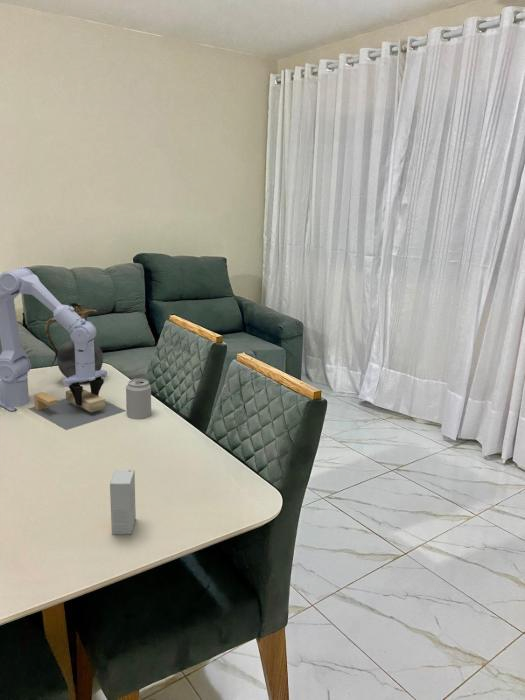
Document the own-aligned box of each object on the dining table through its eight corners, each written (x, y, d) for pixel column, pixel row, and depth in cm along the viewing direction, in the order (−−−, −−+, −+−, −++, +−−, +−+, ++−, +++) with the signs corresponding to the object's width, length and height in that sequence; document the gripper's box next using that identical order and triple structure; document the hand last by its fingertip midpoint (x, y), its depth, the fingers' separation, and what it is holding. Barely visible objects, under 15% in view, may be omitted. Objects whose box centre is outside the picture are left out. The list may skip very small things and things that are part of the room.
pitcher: (104, 387, 194) (101, 304, 185) (47, 389, 188) (41, 305, 180) (103, 377, 204) (101, 298, 195) (49, 379, 198) (44, 299, 190)
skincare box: (115, 518, 117) (114, 468, 114) (136, 518, 117) (135, 468, 114) (110, 535, 111) (109, 483, 108) (131, 535, 112) (131, 483, 108)
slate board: (28, 411, 169) (26, 393, 168) (87, 395, 185) (86, 378, 183) (66, 433, 156) (65, 413, 154) (126, 413, 172) (126, 396, 170)
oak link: (66, 399, 174) (65, 391, 173) (80, 396, 177) (79, 387, 177) (91, 412, 165) (90, 403, 164) (105, 408, 169) (104, 399, 168)
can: (154, 413, 173) (153, 378, 169) (147, 423, 166) (146, 386, 162) (131, 412, 173) (130, 376, 170) (123, 421, 166) (122, 384, 163)
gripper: (70, 369, 159) (72, 412, 163) (112, 360, 170) (113, 400, 174) (58, 364, 163) (60, 405, 167) (99, 355, 174) (100, 394, 178)
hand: (86, 402), depth 171 cm, fingers closed on oak link, 5 cm apart
